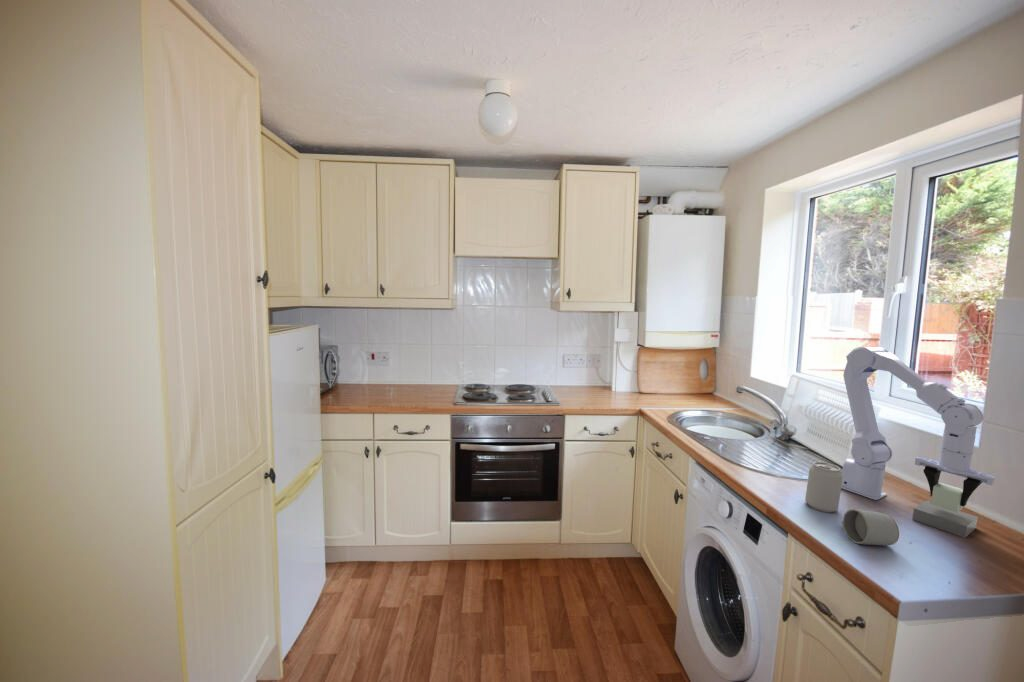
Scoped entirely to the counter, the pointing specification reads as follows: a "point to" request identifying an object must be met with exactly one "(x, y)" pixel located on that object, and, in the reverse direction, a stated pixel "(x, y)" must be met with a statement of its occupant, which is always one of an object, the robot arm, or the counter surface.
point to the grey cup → (870, 527)
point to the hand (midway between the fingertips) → (947, 500)
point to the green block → (947, 497)
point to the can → (824, 486)
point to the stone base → (945, 519)
